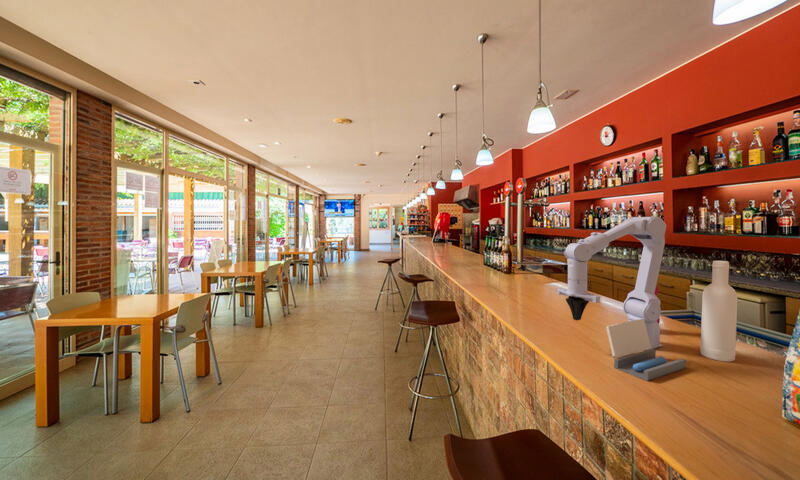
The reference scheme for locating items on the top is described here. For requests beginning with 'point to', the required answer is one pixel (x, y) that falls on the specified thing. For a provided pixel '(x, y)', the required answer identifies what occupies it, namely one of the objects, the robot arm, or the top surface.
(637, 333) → the panel
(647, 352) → the cable duct
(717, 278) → the bottle
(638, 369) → the blue rounded capsule rod
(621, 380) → the top surface
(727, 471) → the top surface
